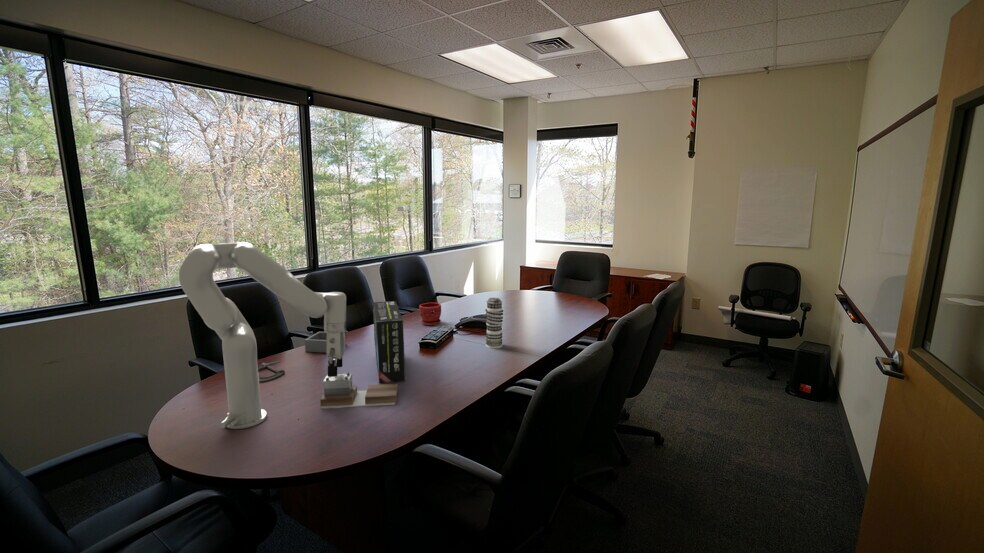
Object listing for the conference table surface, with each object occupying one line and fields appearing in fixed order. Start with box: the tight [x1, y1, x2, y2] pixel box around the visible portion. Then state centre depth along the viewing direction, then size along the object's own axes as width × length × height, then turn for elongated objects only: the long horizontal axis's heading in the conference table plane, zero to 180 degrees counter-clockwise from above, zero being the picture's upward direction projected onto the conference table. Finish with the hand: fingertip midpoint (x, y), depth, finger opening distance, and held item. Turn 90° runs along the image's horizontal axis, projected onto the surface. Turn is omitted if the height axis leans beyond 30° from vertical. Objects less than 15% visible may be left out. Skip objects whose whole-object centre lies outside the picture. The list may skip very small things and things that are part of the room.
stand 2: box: [365, 383, 399, 404], centre depth 167 cm, size 11×11×3 cm
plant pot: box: [418, 302, 442, 327], centre depth 269 cm, size 13×13×12 cm
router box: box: [372, 300, 406, 384], centre depth 195 cm, size 36×11×27 cm, turn 17°
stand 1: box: [319, 385, 358, 407], centre depth 165 cm, size 11×11×3 cm
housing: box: [323, 372, 353, 397], centre depth 164 cm, size 6×9×7 cm, turn 99°
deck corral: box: [304, 331, 346, 354], centre depth 223 cm, size 14×14×6 cm
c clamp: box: [258, 360, 286, 383], centre depth 191 cm, size 20×17×3 cm
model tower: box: [484, 297, 504, 350], centre depth 227 cm, size 9×9×25 cm
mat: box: [320, 390, 397, 410], centre depth 166 cm, size 26×13×1 cm, turn 98°
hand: (335, 371), depth 163 cm, fingers open, 9 cm apart
